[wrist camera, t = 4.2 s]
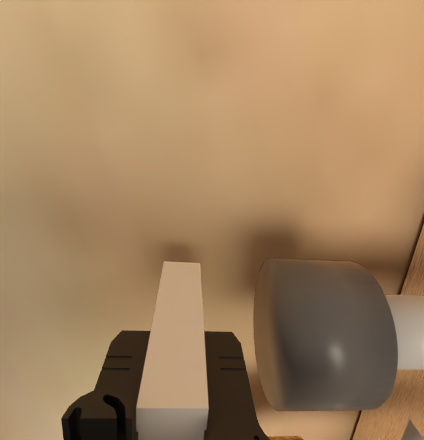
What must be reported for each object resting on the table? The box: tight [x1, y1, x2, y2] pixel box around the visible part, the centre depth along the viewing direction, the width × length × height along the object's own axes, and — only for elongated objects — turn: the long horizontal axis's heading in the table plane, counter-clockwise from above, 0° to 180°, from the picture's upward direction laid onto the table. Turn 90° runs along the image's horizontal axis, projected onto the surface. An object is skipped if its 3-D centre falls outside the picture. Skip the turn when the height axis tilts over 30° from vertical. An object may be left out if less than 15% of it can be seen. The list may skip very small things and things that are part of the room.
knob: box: [253, 258, 424, 411], centre depth 11 cm, size 11×5×5 cm, turn 85°
